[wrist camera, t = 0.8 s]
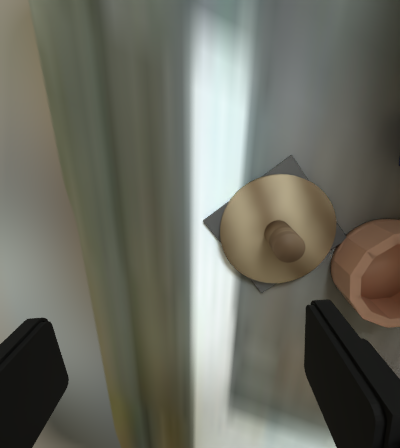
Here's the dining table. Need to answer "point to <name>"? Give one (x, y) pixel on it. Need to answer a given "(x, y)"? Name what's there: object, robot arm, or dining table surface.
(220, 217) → the mat
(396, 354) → the dining table surface
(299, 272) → the lid
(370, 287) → the bowl
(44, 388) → the robot arm
